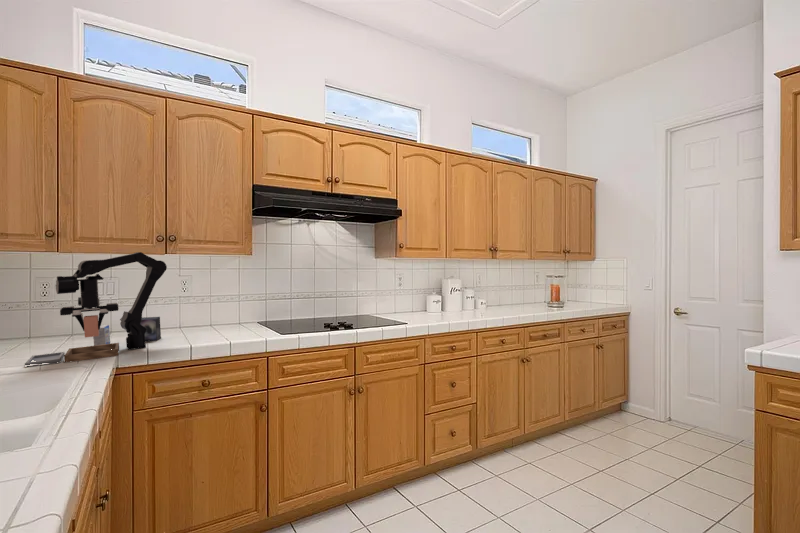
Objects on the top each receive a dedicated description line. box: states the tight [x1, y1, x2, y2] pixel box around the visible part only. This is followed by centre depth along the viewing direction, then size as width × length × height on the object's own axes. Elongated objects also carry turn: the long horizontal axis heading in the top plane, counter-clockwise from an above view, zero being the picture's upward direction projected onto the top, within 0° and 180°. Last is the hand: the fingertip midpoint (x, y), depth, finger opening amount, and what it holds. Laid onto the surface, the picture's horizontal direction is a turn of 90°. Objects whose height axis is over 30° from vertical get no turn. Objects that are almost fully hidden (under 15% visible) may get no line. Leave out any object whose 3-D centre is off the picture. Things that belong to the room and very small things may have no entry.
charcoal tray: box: [24, 351, 66, 366], centre depth 165 cm, size 10×14×2 cm
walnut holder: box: [63, 342, 120, 363], centre depth 173 cm, size 17×15×2 cm
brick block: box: [83, 314, 99, 338], centre depth 173 cm, size 4×4×8 cm
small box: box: [141, 316, 162, 343], centre depth 199 cm, size 11×6×10 cm, turn 101°
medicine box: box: [92, 324, 111, 346], centre depth 190 cm, size 8×4×9 cm, turn 22°
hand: (91, 330), depth 173 cm, fingers closed on brick block, 4 cm apart
